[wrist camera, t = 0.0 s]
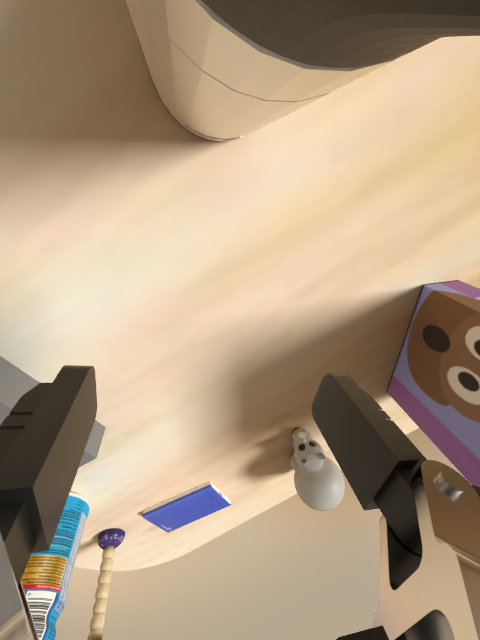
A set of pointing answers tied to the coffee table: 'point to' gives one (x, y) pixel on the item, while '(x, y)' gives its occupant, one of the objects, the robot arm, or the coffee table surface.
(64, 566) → the beverage bottle
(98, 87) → the coffee table surface
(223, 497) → the hard drive
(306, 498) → the round bodied animal figurine
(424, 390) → the cereal box
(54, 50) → the coffee table surface
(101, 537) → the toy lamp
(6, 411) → the button panel
